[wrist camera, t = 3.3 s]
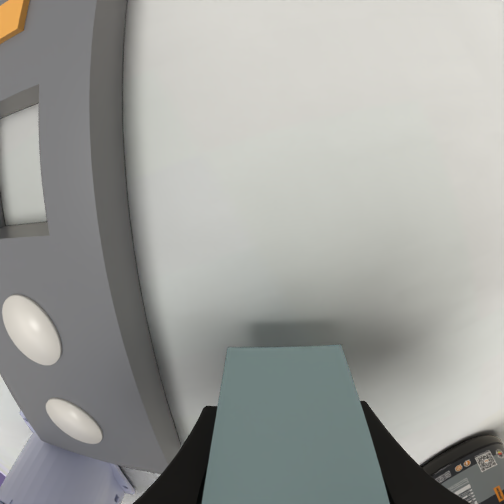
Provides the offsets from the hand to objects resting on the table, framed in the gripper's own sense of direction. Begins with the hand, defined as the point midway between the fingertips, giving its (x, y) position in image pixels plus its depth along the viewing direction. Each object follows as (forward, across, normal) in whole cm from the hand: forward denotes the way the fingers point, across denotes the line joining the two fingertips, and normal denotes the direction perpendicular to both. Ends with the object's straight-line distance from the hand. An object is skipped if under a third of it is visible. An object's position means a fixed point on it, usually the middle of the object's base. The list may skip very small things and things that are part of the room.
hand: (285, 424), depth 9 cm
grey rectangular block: (+2, 0, 0) cm, 2 cm away
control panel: (+4, +11, -5) cm, 13 cm away
